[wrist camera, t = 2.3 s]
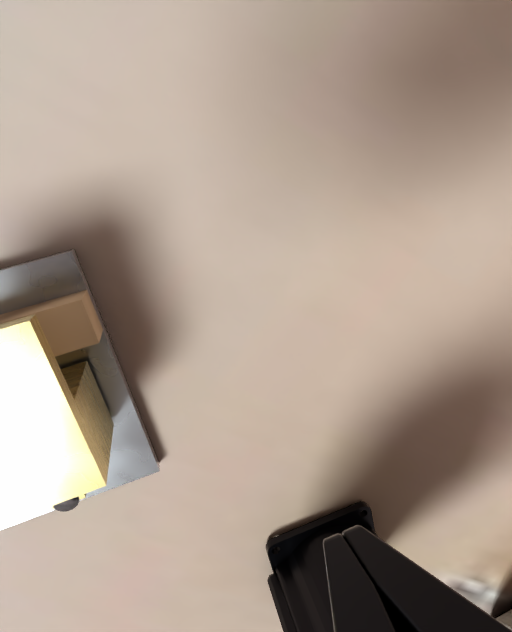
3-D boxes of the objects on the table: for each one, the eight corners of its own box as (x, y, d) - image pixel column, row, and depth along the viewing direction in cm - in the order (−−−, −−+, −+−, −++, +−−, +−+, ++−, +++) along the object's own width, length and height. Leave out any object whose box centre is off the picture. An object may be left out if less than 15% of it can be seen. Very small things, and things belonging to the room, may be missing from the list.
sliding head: (56, 289, 16) (29, 320, 12) (124, 449, 19) (120, 515, 15) (-54, 320, 15) (-118, 364, 12) (34, 481, 18) (5, 558, 14)
